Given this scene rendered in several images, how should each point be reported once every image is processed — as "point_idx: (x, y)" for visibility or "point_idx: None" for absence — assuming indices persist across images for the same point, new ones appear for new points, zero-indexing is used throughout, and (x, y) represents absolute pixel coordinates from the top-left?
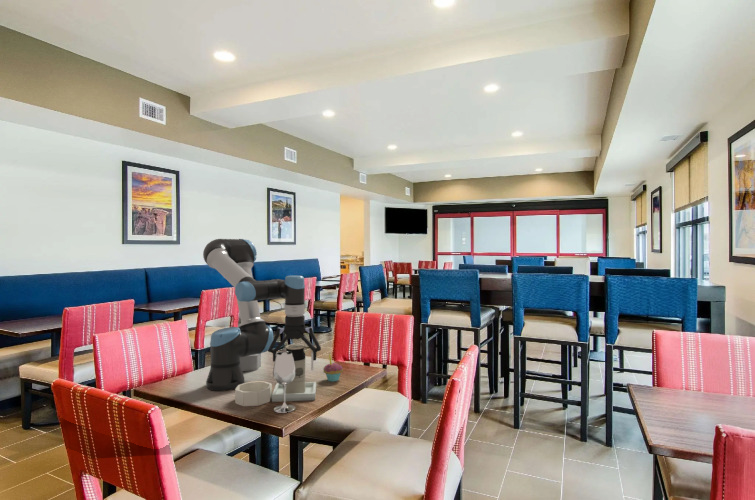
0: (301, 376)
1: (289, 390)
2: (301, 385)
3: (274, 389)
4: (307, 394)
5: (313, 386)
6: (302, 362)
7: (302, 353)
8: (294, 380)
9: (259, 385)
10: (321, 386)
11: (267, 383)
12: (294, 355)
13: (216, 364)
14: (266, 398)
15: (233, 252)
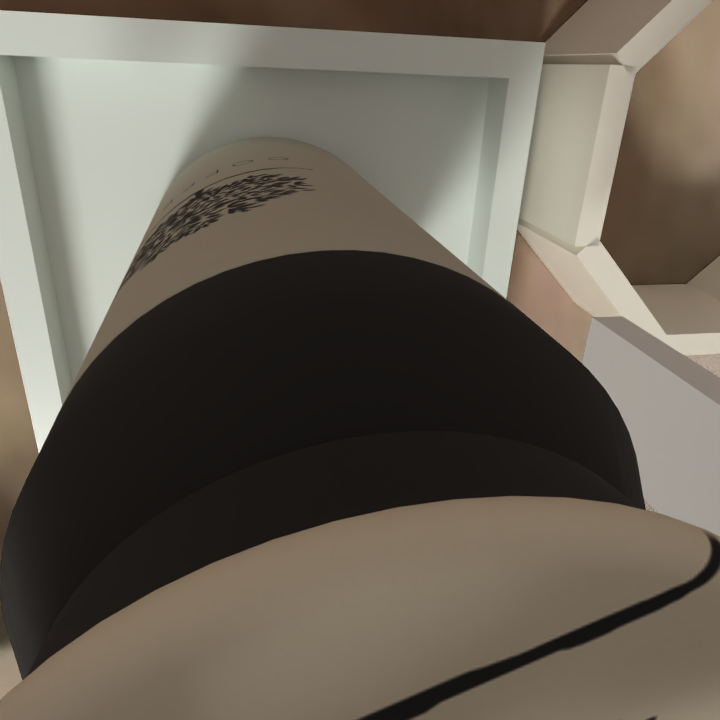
0: (162, 217)
1: (336, 159)
2: (174, 188)
3: (507, 252)
4: (67, 16)
5: (41, 318)
6: (101, 332)
7: (53, 541)
8: (280, 161)
9: (668, 318)
10: (10, 477)
11: (619, 270)
12: (364, 341)
13: None
14: (588, 21)
15: None
